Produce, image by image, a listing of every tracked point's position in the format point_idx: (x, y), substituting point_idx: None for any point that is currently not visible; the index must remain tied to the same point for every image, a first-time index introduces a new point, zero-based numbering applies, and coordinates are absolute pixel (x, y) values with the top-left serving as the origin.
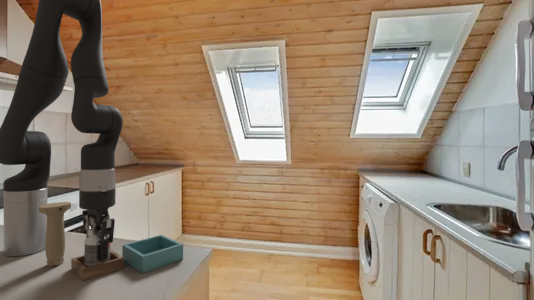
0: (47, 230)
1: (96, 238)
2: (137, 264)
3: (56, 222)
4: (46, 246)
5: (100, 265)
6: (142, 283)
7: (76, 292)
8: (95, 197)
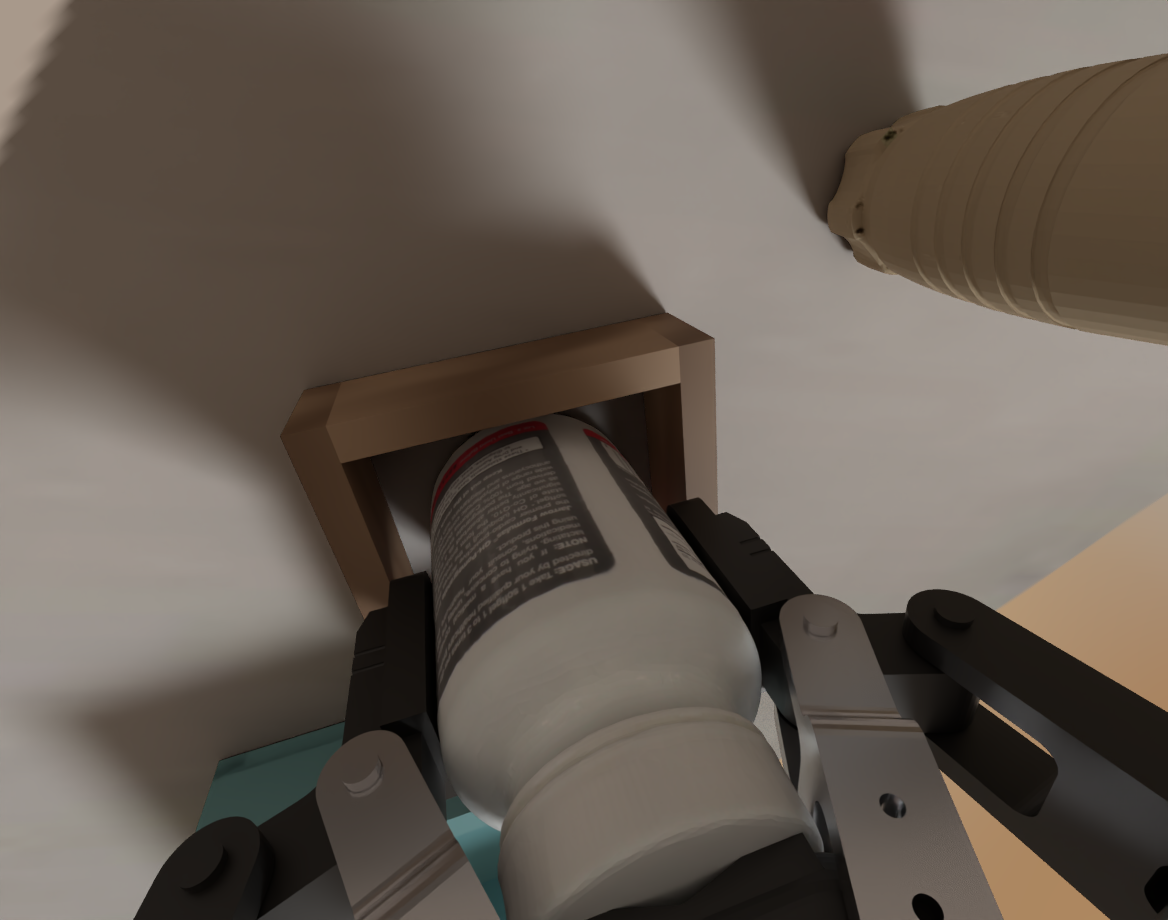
0: None
1: (418, 821)
2: (304, 774)
3: None
4: (1115, 69)
5: (345, 572)
6: (5, 764)
7: (19, 309)
8: None
